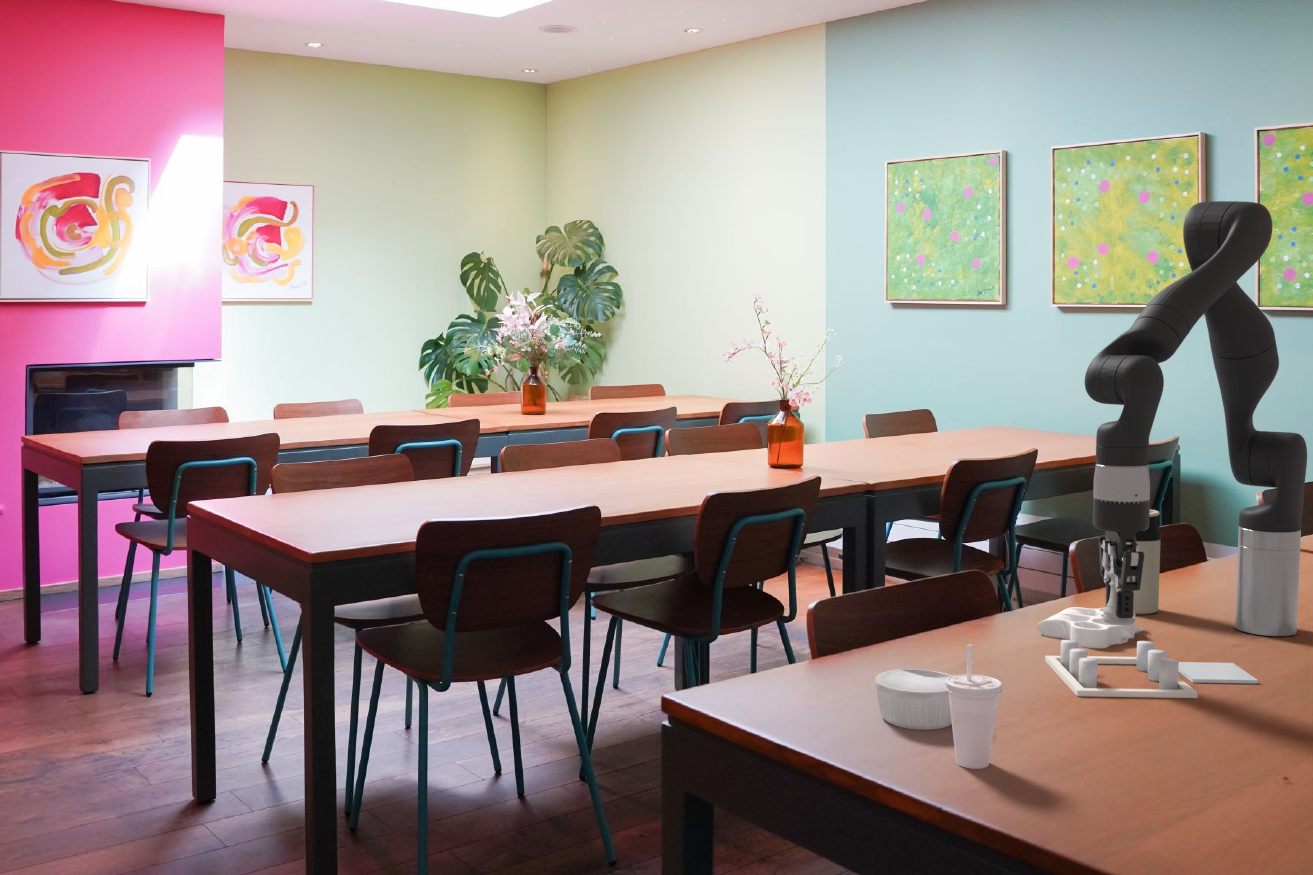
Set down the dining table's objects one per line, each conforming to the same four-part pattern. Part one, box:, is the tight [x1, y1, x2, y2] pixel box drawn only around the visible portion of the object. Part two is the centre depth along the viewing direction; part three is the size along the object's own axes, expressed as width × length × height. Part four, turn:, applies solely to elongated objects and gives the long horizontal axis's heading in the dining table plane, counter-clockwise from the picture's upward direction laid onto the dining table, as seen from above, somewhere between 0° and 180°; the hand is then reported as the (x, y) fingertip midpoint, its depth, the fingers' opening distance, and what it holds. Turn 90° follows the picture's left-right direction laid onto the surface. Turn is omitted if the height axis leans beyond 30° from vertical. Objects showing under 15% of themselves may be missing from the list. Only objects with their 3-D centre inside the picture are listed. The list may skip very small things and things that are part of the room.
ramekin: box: [874, 668, 953, 731], centre depth 155 cm, size 11×11×5 cm
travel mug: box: [1128, 508, 1162, 616], centre depth 215 cm, size 8×8×18 cm
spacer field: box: [1044, 639, 1199, 699], centre depth 173 cm, size 18×16×4 cm
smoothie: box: [945, 643, 1003, 770], centre depth 139 cm, size 6×6×14 cm
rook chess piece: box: [1103, 568, 1136, 625], centre depth 172 cm, size 4×4×8 cm
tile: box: [1178, 661, 1259, 685], centre depth 175 cm, size 9×9×1 cm
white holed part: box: [1037, 606, 1146, 649], centre depth 198 cm, size 3×18×15 cm
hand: (1119, 612), depth 173 cm, fingers closed on rook chess piece, 4 cm apart
